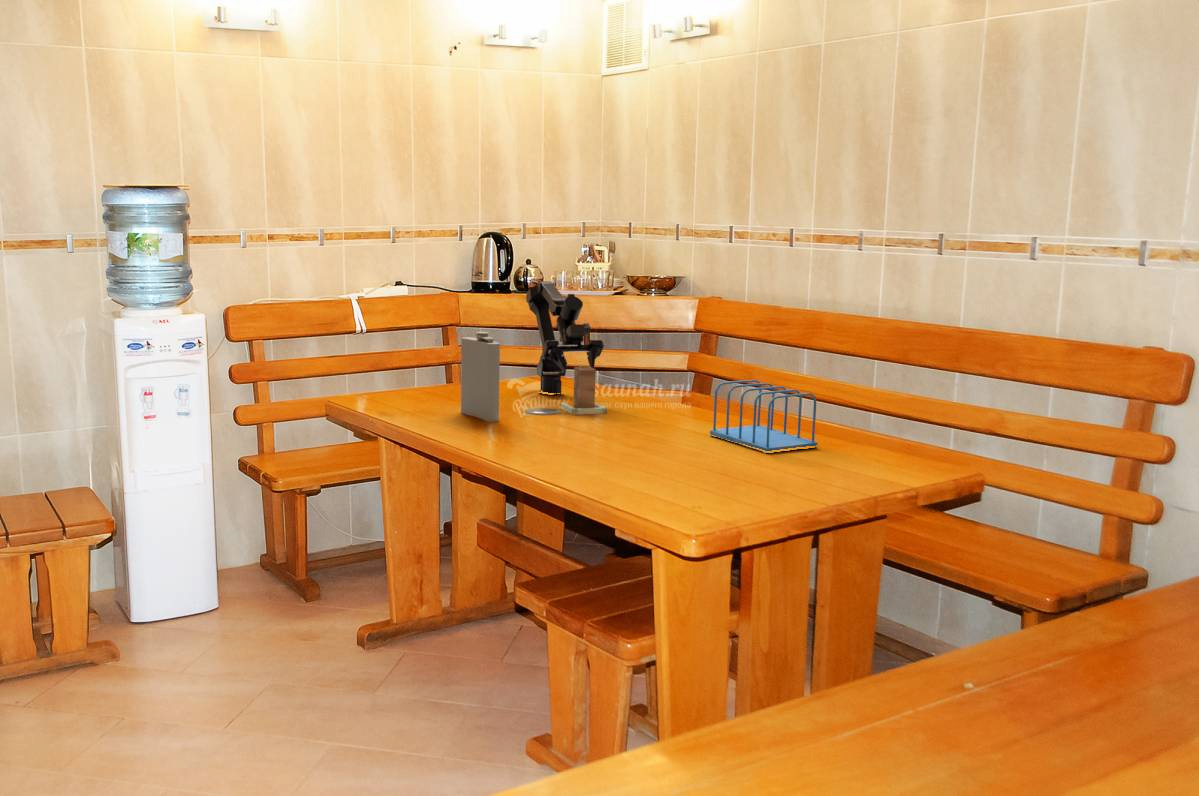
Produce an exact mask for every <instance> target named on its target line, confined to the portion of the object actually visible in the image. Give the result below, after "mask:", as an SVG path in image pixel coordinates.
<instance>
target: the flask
mask: <svg viewBox="0 0 1199 796" xmlns="http://www.w3.org/2000/svg"><path fill="white" fill-rule="evenodd" d="M475 334H476V335H475V337H473V336H472V337H470V336H467V337H461V344H460V345H461V349H460V350H461V353H460V356H461V357H460V362H461V363H460V365H461V366H460V413H461V414H462V415H468V416H472V417H475V418H478V419H480V420H482V421H485V422H490V423H492V422H493V423H495V422H498V421H499V420H500V367H501V365H500V364H501V363H500V359H501V358H500V356H501V355H500V354H501V351H500V350H501V349H500V347H501V345H500V344H501V343H500V342H497V341H495V338H494V337H492V336H489V334H490V332H488V331H477V332H475Z"/></svg>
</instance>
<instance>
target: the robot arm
mask: <svg viewBox="0 0 1199 796" xmlns="http://www.w3.org/2000/svg"><path fill="white" fill-rule="evenodd" d="M525 295H526V296H525V299H526V303H527V305H528V307H529V310H530V311H531V312H532V313H533V314H534V315H535V319H536V323H537V327H538V331H539V332H538V333H539V337H540V342H541V348H542V352H541V354H540V358H539V361H538V364H537V366H536V375H537V376H538V377H540V391H541V390H542V391H543V392H548V393H556V394H557V393H561V392H562V377H565V376H566V372H567V365H568V362H567V359H566V356H565V354H564V353H565V352H567V353H582V352H583V353H584V352H585V353H586V355H587V361H588V365H589V367H591V368H594V369H595V362H596V359H597V358H599V357H600V356H601V354H602V352H603V350H604V348H605V344H604V341H603V340H602V339H589V342H588V344H582V343H583V342H584V337H585V336H586V335H589V334H590V333H591V325H590V324H589V322H588V323H587V322H586V323H585V322H584V323H582V324H576V320H578V319H579V316H580V315H581V314H580V313H581V311H582V309H583V306H584V303H583V301H582V300H581V299H580V298H579V297H578V296H575V294H574V293H568V294H567V296H566V295H563V294H561V292H560V291H559V290H558V288H557V287H556V286H555V283H554V281H550V280H549V281H548V280H544V281H543V280H541V281H538V282H537V284H536V285H534V286H532V287H530V288H529V289H528V291H527V292H526V294H525ZM551 316H552V317H556V320H555V321H556V325H555V326H556V327H555V328H556V329H557V330H558V333H559V340H557V339H556V338H555V332H554V329H553V328H554V327H553V322H552V318H551ZM559 341H560V342H561V343H562V344H560V342H559Z"/></svg>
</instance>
